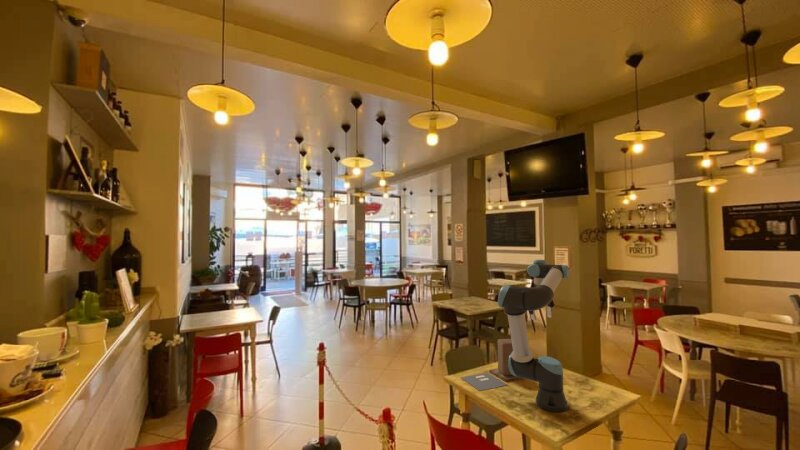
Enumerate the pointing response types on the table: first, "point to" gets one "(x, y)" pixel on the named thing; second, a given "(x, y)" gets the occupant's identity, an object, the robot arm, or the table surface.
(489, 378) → the gray tile
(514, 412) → the table surface
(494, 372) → the walnut board
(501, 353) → the wooden block
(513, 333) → the robot arm
